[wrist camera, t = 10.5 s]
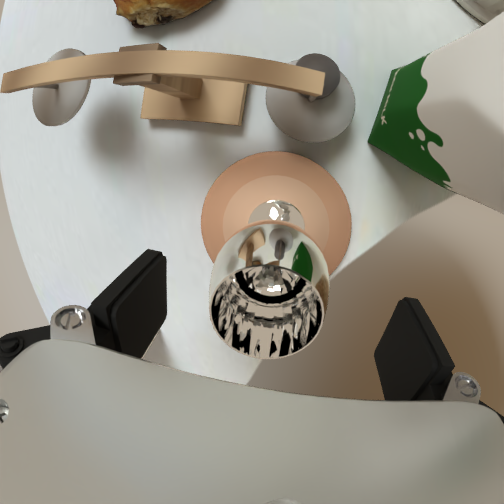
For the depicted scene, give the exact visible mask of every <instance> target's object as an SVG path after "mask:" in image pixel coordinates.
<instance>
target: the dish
mask: <svg viewBox="0 0 504 504" xmlns="http://www.w3.org/2000/svg"><path fill="white" fill-rule="evenodd" d="M269 200H283V201H286V202H289V203H291V204H292V205H294V206H295V207H296V208H297V209H298V210H299V211H300V213H301V214H302V216H303V219H304V223H305V231H306V232H307V233H308V234H310V235H311V237H312V238H313V239H314V240H315V241H316V242H317V244H318V245H319V247H320V248H321V250H322V252H323V254H324V257H325V259H326V262H327V266H328V272H329V275H331V273H332V272H333V271H334V270H335V269H336V268H337V266H338V265H339V263H340V262H341V261H342V259H343V257H344V255H345V253H346V250H347V247H348V245H349V241H350V236H351V213H350V209H349V205H348V202H347V199H346V196H345V194H344V192H343V191H342V189H341V187H340V186H339V184H338V183H337V181H336V180H335V179H334V178H333V177H332V176H331V175H330V174H329V173H328V172H327V171H326V170H325V169H324V168H322V167H321V166H320V165H319V164H317V163H315V162H314V161H312V160H310V159H308V158H306V157H303V156H301V155H298V154H294V153H290V152H283V151H268V152H262V153H257V154H254V155H251V156H248V157H246V158H244V159H241V160H239V161H237V162H236V163H234V164H233V165H231V166H230V167H228V168H227V169H226V170H225V171H224V172H223V173H222V174H221V175H220V176H219V177H218V178H217V179H216V180H215V182H214V183H213V185H212V186H211V188H210V190H209V192H208V194H207V196H206V198H205V202H204V205H203V209H202V215H201V230H202V237H203V241H204V245H205V247H206V250H207V252H208V254H209V256H210V258H211V260H212V261H213V263H215V260H216V258H217V255H218V253H219V251H220V249H221V247H222V246H223V245H224V243H225V242H226V241H227V240H228V239H229V238H230V237H231V236H232V235H233V234H234V233H235V232H236V231H237V230H239V229H240V228H242V227H244V226H246V225H247V224H248V220H249V217H250V215H251V213H252V212H253V210H254V209H255V208H256V207H257V206H258V205H260V204H262V203H263V202H266V201H269Z"/></svg>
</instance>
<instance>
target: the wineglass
mask: <svg viewBox="0 0 504 504" xmlns="http://www.w3.org/2000/svg"><path fill="white" fill-rule="evenodd" d="M329 285H330V284H329V272H328V266H327V262H326V259H325V257H324V254H323V252H322V250H321V248H320V247H319V245H318V244H317V242H316V241H315V240H314V239H313V238H312V237H311V235H310V234H308V233H307V232H306V231H305V223H304V219H303V216H302V214H301V213H300V211H299V210H298V209H297V208H296V207H295V206H294V205H292V204H291V203H289V202H286V201H283V200H269V201H266V202H263V203H262V204H260V205H258V206H257V207H256V208H255V209H254V210H253V212H252V213H251V215H250V217H249V220H248V224H247V225H246V226H244V227H242V228H240V229H239V230H237V231H236V232H235V233H234V234H233V235H232V236H231V237H230V238H229V239H228V240H227V241H226V242H225V243H224V245H223V246H222V247H221V249H220V251H219V253H218V255H217V258H216V260H215V263H214V265H213V269H212V273H211V280H210V286H209V311H210V320H211V322H212V325H213V328H214V330H215V331H216V333H217V334H218V336H219V337H220V338H221V339H222V340H223V341H224V342H225V343H226V344H227V345H228V346H229V347H231V348H233V349H234V350H236V351H238V352H239V353H242V354H244V355H247V356H250V357H254V358H259V359H278V358H284V357H287V356H291V355H294V354H295V353H297V352H299V351H301V350H303V349H304V348H306V347H307V346H308V345H310V344H311V343H312V342H313V340H314V339H315V338H316V336H318V334H319V331H320V329H321V327H322V325H323V321H324V318H325V314H326V310H327V305H328V297H329V288H330V286H329Z"/></svg>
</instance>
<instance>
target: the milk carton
mask: <svg viewBox="0 0 504 504" xmlns="http://www.w3.org/2000/svg"><path fill="white" fill-rule="evenodd" d="M368 143H370V144H372V145H374V146H375V147H377V148H379V149H381V150H382V151H384V152H385V153H387V154H389V155H390V156H392V157H393V158H395V159H396V160H398V161H399V162H401V163H403V164H404V165H406V166H407V167H409V168H410V169H412V170H414V171H415V172H417V173H419V174H421V175H422V176H424V177H426V178H428V179H429V180H431V181H433V182H434V183H436V184H438V185H440V186H442V187H444V188H446V189H448V190H450V191H452V192H455V193H457V194H460V195H462V196H464V197H467V198H469V199H472V200H474V201H476V202H478V203H481V204H483V205H485V206H487V207H490V208H492V209H494V210H496V211H498V212H500V213H502V214H504V12H502V13H501V14H499V15H498V16H496V17H495V18H494V19H492V20H491V21H489V22H488V23H486V24H485V25H483V26H482V27H480V28H479V29H477V30H475V31H473V32H472V33H469V34H467V35H465V36H463V37H461V38H459V39H457V40H455V41H453V42H451V43H449V44H447V45H445V46H443V47H441V48H439V49H437V50H435V51H433V52H431V53H429V54H427V55H425V56H423V57H422V58H420V59H418V60H416V61H414V62H412V63H410V64H409V65H406V66H403V67H400V68H397V69H394V70H392V71H391V75H390V78H389V81H388V84H387V87H386V90H385V93H384V96H383V99H382V102H381V105H380V108H379V111H378V114H377V117H376V120H375V123H374V125H373V128H372V131H371V134H370V136H369V139H368Z"/></svg>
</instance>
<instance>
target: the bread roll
mask: <svg viewBox="0 0 504 504" xmlns="http://www.w3.org/2000/svg"><path fill="white" fill-rule="evenodd" d="M211 1H212V0H114V2H115V4H116V7H117V11H116V15H119V16H123V17H125V18H127V19H128V20H129V21H131V22H132V25H133V26H134V27H136V28H144V27H146V26H150V25H154V24H166V23H168V22H170V21H172V20H176V19H180V18H184V17H186V16H187V15H189V14H191V13H193V12H194V11H197V10H199V9H200V8H202V7H203V6H204V5H206V4H208V3H209V2H211ZM157 20H158V21H157Z"/></svg>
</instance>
